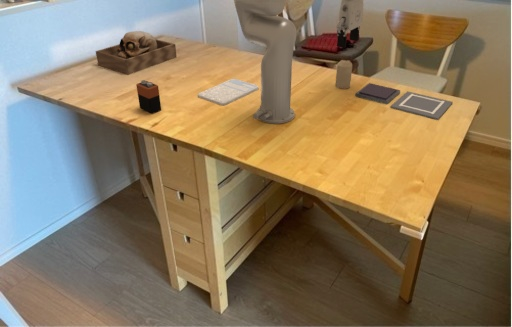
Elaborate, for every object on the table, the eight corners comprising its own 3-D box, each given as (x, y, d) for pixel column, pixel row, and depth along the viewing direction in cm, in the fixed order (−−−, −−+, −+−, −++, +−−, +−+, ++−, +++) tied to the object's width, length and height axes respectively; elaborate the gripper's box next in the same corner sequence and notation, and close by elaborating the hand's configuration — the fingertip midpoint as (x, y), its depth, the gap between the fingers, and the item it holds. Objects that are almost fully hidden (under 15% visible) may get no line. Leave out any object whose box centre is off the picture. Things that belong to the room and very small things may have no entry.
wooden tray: (128, 74, 176) (126, 60, 173) (98, 65, 186) (95, 51, 183) (176, 57, 195) (175, 44, 191) (146, 49, 205) (144, 36, 202)
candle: (349, 83, 166) (352, 58, 161) (350, 89, 162) (353, 63, 156) (334, 83, 167) (337, 57, 161) (335, 88, 162) (338, 62, 157)
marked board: (437, 120, 139) (438, 117, 139) (390, 107, 148) (390, 105, 147) (452, 103, 150) (452, 101, 150) (407, 92, 158) (407, 90, 158)
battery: (151, 114, 144) (147, 86, 139) (139, 109, 148) (134, 81, 143) (162, 110, 147) (158, 82, 142) (150, 105, 151) (145, 77, 146)
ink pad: (386, 104, 150) (387, 100, 149) (354, 96, 156) (355, 92, 155) (399, 93, 158) (400, 89, 157) (369, 86, 164) (369, 82, 163)
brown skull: (112, 67, 183) (109, 34, 177) (126, 58, 199) (123, 27, 193) (150, 69, 182) (148, 36, 176) (160, 60, 198) (159, 29, 192)
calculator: (196, 97, 157) (196, 93, 156) (233, 82, 170) (233, 77, 169) (223, 107, 150) (223, 102, 149) (259, 90, 163) (259, 85, 162)
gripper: (351, -1, 139) (346, 52, 148) (373, -10, 151) (367, 39, 160) (330, -3, 143) (326, 48, 152) (353, -12, 154) (349, 36, 164)
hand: (347, 43), depth 156 cm, fingers open, 9 cm apart
